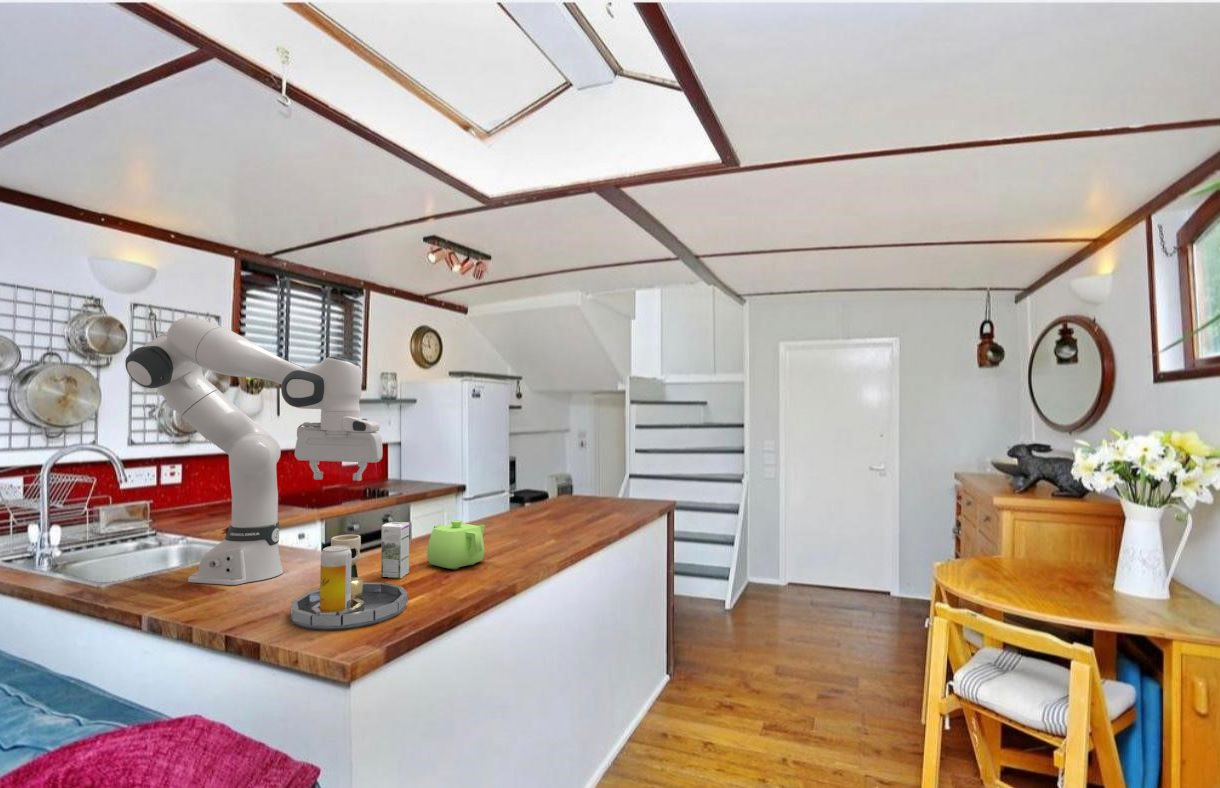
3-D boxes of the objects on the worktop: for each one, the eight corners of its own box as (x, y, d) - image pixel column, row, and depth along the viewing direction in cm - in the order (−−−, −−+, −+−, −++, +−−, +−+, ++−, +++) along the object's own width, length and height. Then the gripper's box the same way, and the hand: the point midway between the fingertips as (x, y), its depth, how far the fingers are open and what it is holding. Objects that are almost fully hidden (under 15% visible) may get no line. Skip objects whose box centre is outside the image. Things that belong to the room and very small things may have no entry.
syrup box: (409, 573, 169) (410, 521, 169) (400, 579, 163) (400, 525, 164) (390, 572, 170) (390, 521, 170) (380, 578, 164) (380, 525, 164)
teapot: (463, 552, 194) (463, 512, 194) (507, 562, 182) (507, 518, 182) (414, 564, 179) (415, 520, 179) (459, 575, 167) (459, 528, 168)
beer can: (325, 613, 133) (326, 545, 133) (354, 612, 134) (355, 544, 134) (315, 622, 127) (316, 551, 127) (345, 622, 128) (346, 551, 128)
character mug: (346, 594, 150) (347, 542, 150) (320, 593, 150) (320, 541, 151) (369, 582, 160) (369, 533, 161) (344, 581, 161) (344, 532, 162)
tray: (268, 630, 125) (269, 596, 126) (322, 594, 149) (323, 566, 150) (383, 630, 126) (384, 596, 126) (419, 594, 150) (419, 566, 150)
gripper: (291, 422, 144) (288, 480, 143) (377, 425, 144) (374, 482, 144) (303, 421, 150) (301, 477, 150) (386, 424, 150) (383, 479, 150)
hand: (337, 480), depth 147 cm, fingers open, 8 cm apart
